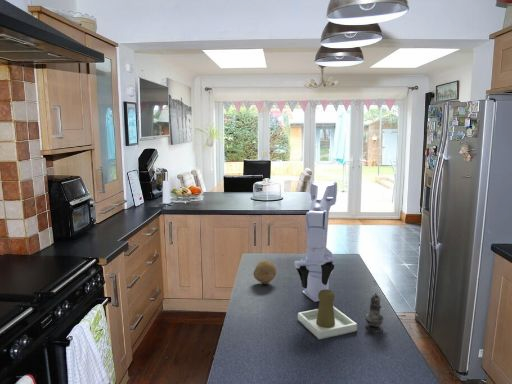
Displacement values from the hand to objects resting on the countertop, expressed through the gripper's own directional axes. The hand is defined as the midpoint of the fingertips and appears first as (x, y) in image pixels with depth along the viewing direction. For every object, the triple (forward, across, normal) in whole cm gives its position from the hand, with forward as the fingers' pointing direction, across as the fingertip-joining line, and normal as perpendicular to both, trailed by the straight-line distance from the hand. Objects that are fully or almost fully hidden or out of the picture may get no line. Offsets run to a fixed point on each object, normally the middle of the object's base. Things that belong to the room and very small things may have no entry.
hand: (314, 285), depth 134 cm
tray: (+10, 0, -8) cm, 13 cm away
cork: (+10, 0, -7) cm, 12 cm away
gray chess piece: (+10, +13, -15) cm, 22 cm away
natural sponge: (+10, -5, +30) cm, 32 cm away
